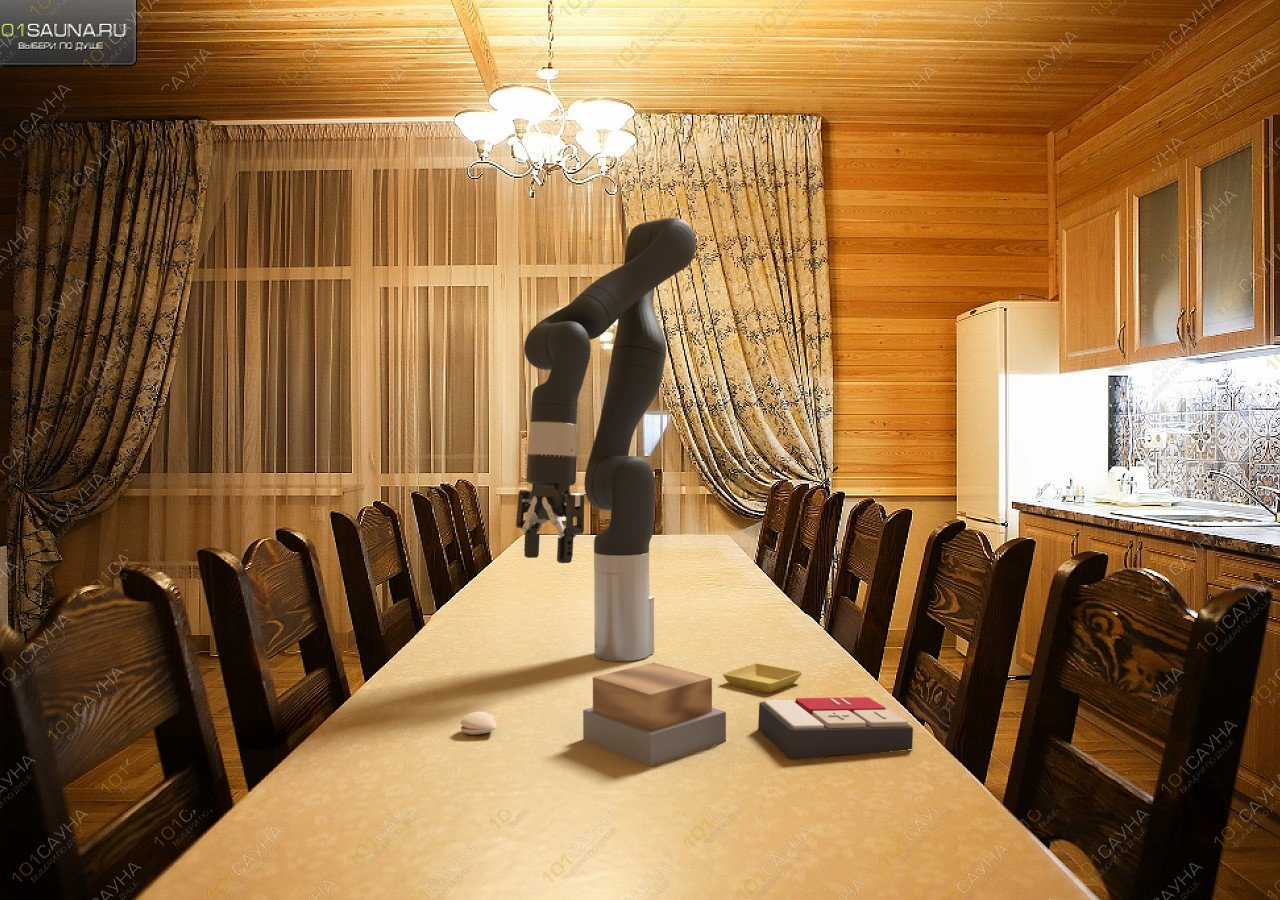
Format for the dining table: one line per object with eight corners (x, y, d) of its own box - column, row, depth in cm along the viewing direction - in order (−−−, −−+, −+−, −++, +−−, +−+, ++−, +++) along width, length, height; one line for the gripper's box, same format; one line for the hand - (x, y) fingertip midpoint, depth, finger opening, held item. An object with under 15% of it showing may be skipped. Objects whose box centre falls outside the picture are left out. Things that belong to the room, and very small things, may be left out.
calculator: (915, 721, 99) (791, 723, 96) (913, 758, 99) (789, 762, 96) (870, 694, 110) (758, 695, 107) (869, 728, 110) (756, 730, 107)
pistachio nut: (481, 726, 109) (481, 706, 109) (508, 734, 105) (508, 713, 105) (454, 735, 105) (454, 714, 105) (481, 743, 102) (481, 722, 102)
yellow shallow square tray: (720, 687, 126) (720, 673, 126) (755, 675, 133) (755, 662, 133) (770, 698, 120) (770, 683, 120) (803, 685, 127) (803, 671, 127)
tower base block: (657, 721, 111) (656, 690, 111) (725, 745, 102) (725, 711, 102) (583, 743, 103) (583, 709, 103) (650, 771, 94) (650, 734, 94)
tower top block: (653, 693, 110) (653, 662, 110) (711, 711, 102) (711, 677, 102) (592, 710, 103) (592, 677, 103) (650, 730, 95) (650, 694, 95)
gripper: (600, 454, 129) (596, 564, 128) (545, 454, 139) (540, 555, 139) (560, 452, 124) (554, 565, 123) (505, 451, 134) (500, 556, 134)
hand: (547, 560), depth 131 cm, fingers open, 8 cm apart
